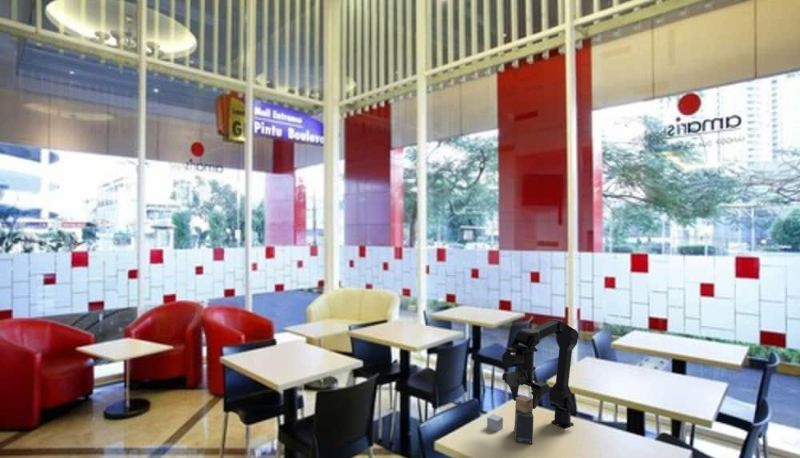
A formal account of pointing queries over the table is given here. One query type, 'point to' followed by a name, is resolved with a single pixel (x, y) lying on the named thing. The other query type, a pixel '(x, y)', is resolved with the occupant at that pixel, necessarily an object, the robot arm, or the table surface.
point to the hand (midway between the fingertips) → (524, 404)
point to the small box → (523, 427)
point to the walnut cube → (524, 404)
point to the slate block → (495, 423)
